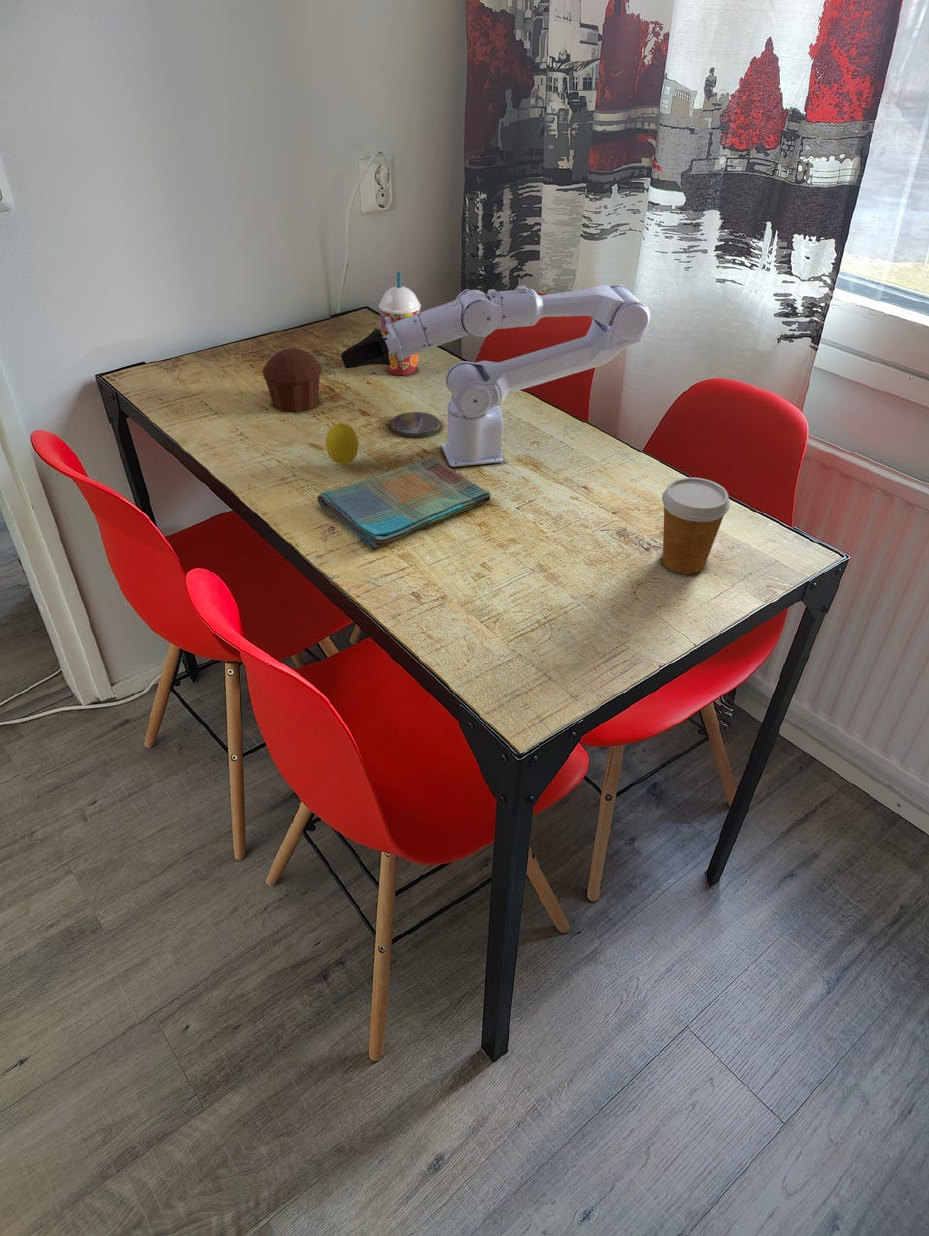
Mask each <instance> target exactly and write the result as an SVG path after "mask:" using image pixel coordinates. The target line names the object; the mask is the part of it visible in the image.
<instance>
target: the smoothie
mask: <svg viewBox="0 0 929 1236" xmlns="http://www.w3.org/2000/svg"><path fill="white" fill-rule="evenodd" d="M396 281H397V282H396V283H397V285H394V286H392V287H390V288H389V289H388V290H386V292H385V293H384V294H383V295H382V297H381V301H380V302H379V304H378V309H379V317H380V326H381V334H382V337H385V336H387V335H388V330H387V326H386V320H385V317H388V316H389V319H390V321H391V323H394V322H396V321H399V320H402V319H405V318H407V317H410V316H413V315H416V314H418V313H421V302H420V301H419V299H418V296H417V295H416V294H415V293H414V291H413V290H412V289H411V288H409V287H407V286H405V285H402V279H401V272H400V271H398V272H396ZM388 353H389V352H388ZM388 356H389V359H390V364H391V365H385V367H386V368H387V370H388V372H389V373H391V374H393V375H395V376H396V375H397V376H408V375H411V374H412V373H415V371H416V367H417V366H418V365H419V353H417V354H414V355H412V356H409V357H406V358H403V359H404V360H402V361H399V360H398V358H397V355H396V353H395V352H392V353H389V354H388Z"/></svg>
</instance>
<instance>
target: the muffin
mask: <svg viewBox="0 0 929 1236" xmlns="http://www.w3.org/2000/svg"><path fill="white" fill-rule="evenodd" d="M322 372H323V367H322V365H321V363H319V361H318V360H317V358H316V357H315V356H314V355H312V354H311V353H309V352H307V351H306V350H304V349H300V348H296V347H294V348H292V347H291V348H290V347H289V348H283V349H281V350H279V351H277V352H275V353H274V354H273V355H272V356H271V357H270V358H269V359H268V361H267V362H266V364H265V365H264V367H263V369H262V375H263V378H264V379H265V382H266V386H267V389H268V392H269V396H270V398H271V402H272V403H271V404H272V406H273V408H276V409H278V410H279V411H281V412H291V413H292V412H293V413H299V412H302V411H309V410H311V409H312V408H313V407H315V406H317V405H318V404H319V391H320V375H321V374H322Z"/></svg>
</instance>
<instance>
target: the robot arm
mask: <svg viewBox="0 0 929 1236" xmlns="http://www.w3.org/2000/svg"><path fill="white" fill-rule="evenodd" d="M582 316H583V317H584V316H586V317H590V318H591V319H592V321H591V324H590V327H589V330H588V331H587V333H586V335H585V336H582V337H578V338H575V339H572V340H569V341H566V342H562V343H559V344H556V345H553V346H549V347H545V348H542V349H539V350H536V351H533V352H529V353H525V354H522V355H519V356H515V357H512V358H509V359H506V360H503V361H499V362H498V361H497V362H496V361H490V360H480V361H476V362H472V361H459V362H456V363H455V364H453V365H452V366H451V367H450V368H449V369H448V371H447V373H446V376H445V385H446V388H447V389H448V391H449V393H450V394H451V397H450V399H449V401H448V403H447V443H442V444H441V449H442V451H443V452H444V455H445V458H446V460H447V462H448V465H449V466H450V467H451V468H456V467H457V468H458V467H468V466H476V465H487V464H497V463H502V462H504V458H503V447H504V446H503V445H504V443H503V442H504V419H503V418H504V417H503V413H502V410H501V408H500V405H502V404H503V402H504V400H505V399H506V398H507V396H508V395H509V394H512V393H516V392H518V391H522V390H524V389H525V390H526V389H527V388H531V387H535V386H539V385H541V384H545V383H548V382H551V381H555V380H558V379H561V378H566V377H568V376H571V375H575V374H578V373H581V372H584V371H588V370H591V369H595V368H597V367H598V368H599V367H601V366H604V365H606V364H608V363H609V362H611V361H612V360H614V359H615V357H617V356H618V355H619V354H620V353H622V352H623V351H624V350H625V349H626V348H627V347H629V346H631V345H635V344H637V343H639V342H641V341H642V339H643V337H644V336H645V333H646V332H647V330H648V328H649V326H650V323H651V312H650V309H649V307H648V306H647V305H645V303H643V302H641V301H640V300H639V299H638V298H637V297H636V296H635V295H634V294H633V293H632V292H631V291H630V290H629V288H628V287H627V286H625V285H624V284H623V285H622V284H619V283H618V284H616V283H615V284H611V285H608V284H599V285H596V286H594V287H589V288H583V289H576V290H569V291H561V292H555V293H548V294H541V295H540V294H538V293H537V292H536V291H535V290H534V289H532V288H527V286H526V285H517V286H516V289H513V290H512V289H511V290H501V291H499V290H498V291H497V290H495V288H493V289H492V288H491V289H488V291H487V293H485V292H483V291H481V290H479V289H469V288H466V289H464V290H462V291H461V292H460V293H459V294H458V295H457V296H456V298H455V300H452V301H449V302H447V303H444V304H441V305H438V306H435V307H432V308H429V309H426V310H424V311H420V313H418V314H416V315H413V316H410V317H407V318H405V319H402V320H399V321H396V322H394V323H391V321H390V319H389V316H388V317H385V320H386V326H387V330H388V335H387V336H385V337H382V330H381V329H380V328H377V327H376V328H374V329H373V330H372V332H371V333H370V334H368V336H366V337H365V338H363V339H361V340H360V341H359V342H357V343H355V344H354V345H352V346H350V347H348V348H347V349H344V351H342V352H341V355H340V358H341V360H342V364H343V366H344V368H345V369H355V368H359V367H364V366H373V365H383V366H386V365H391V364H390V359H389V356H388V354H389V353H392V352H395V353H396V355H397V358H398V360H399V361H402V360H404V359H403V358H406V357H409V356H412V355H414V354H417V353H418V354H420V353H422V352H425V351H429V350H431V349H433V348H437V347H439V346H442V345H445V344H447V343H450V342H453V341H456V340H458V339H461V338H464V337H466V336H469V335H472V336H475V337H481V338H485V337H487V336H489V335H491V334H492V333H493V332H494V331H495V330H502V329H513V328H514V329H515V328H523V327H533V326H535V325H536V324H537V323H538V322H539V321H540V320H541V319H542V318H557V317H558V318H559V317H560V318H561V317H562V318H563V317H582ZM388 352H389V353H388Z"/></svg>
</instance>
